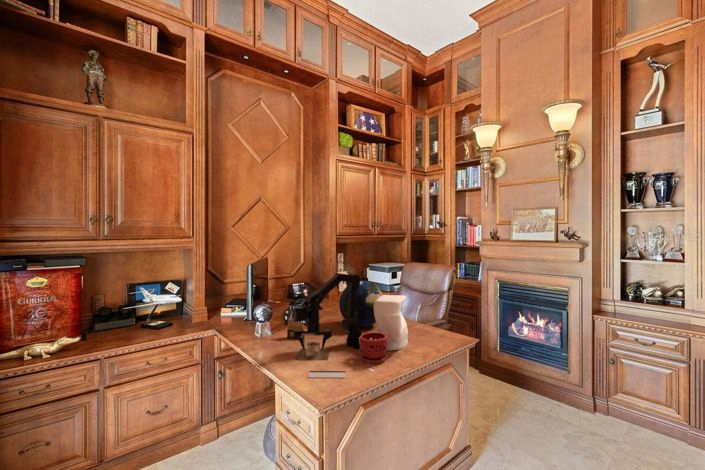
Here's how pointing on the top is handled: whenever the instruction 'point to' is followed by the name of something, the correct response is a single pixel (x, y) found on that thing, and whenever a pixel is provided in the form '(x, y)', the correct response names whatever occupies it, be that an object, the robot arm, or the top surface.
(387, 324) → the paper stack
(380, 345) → the plant pot
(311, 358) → the post stand
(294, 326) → the ammunition clip
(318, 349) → the collar
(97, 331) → the top surface
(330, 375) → the mat
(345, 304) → the globe
